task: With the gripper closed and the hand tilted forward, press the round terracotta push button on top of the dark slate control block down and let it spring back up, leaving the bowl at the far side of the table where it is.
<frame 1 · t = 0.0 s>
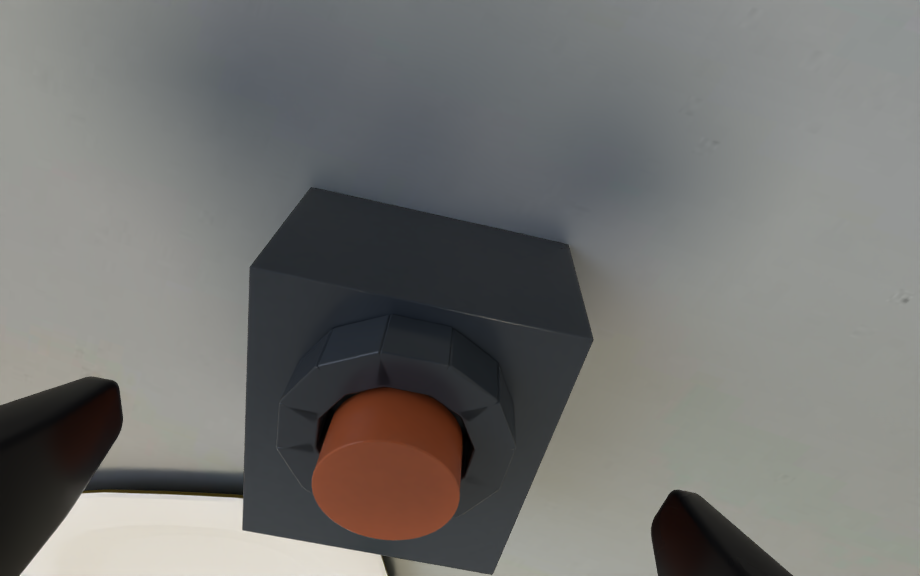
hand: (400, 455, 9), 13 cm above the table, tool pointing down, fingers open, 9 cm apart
control block: (414, 340, 24), on the table
button: (391, 464, 16), point 9 cm above the table, slide at 0.1 cm
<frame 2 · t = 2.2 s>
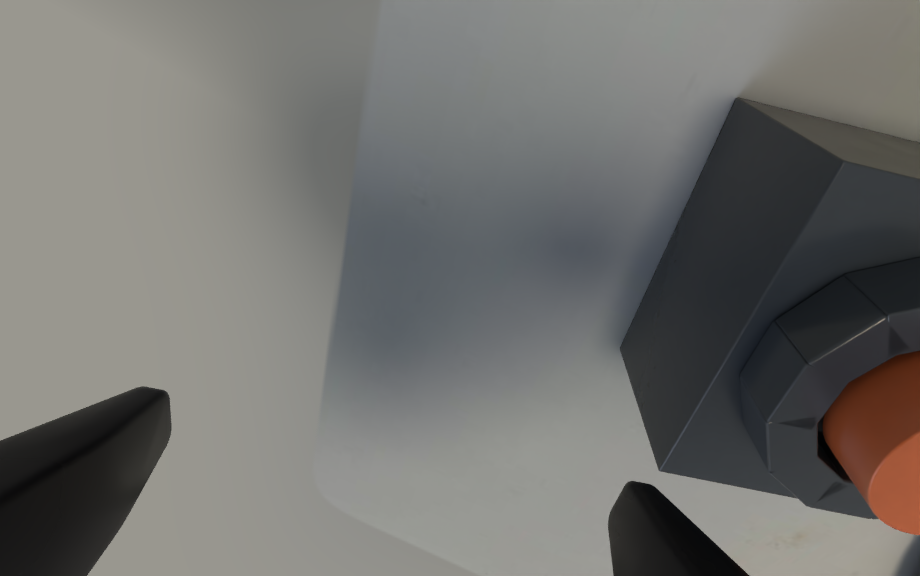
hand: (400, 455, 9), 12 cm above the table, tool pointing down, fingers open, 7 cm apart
control block: (827, 274, 20), on the table
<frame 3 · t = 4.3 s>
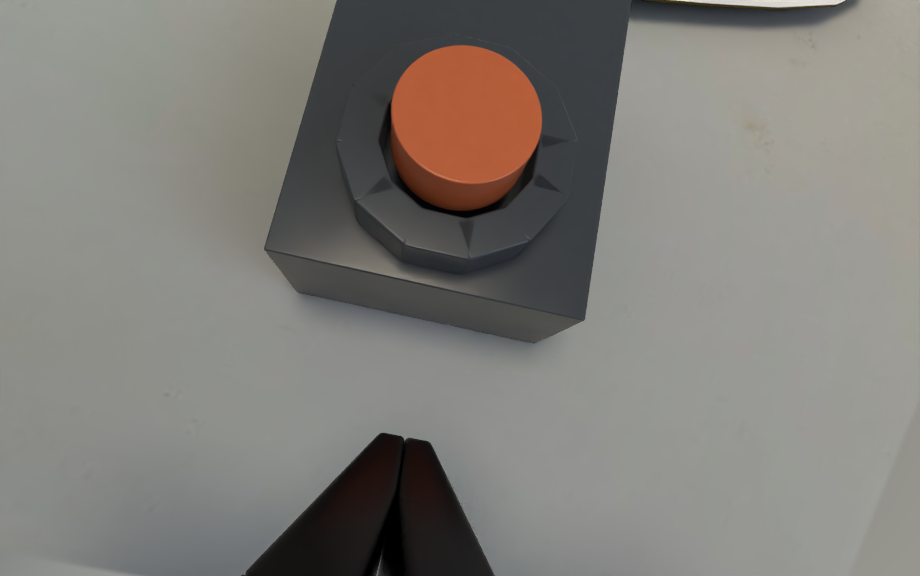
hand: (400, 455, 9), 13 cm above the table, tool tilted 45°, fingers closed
control block: (446, 185, 24), on the table
button: (463, 131, 16), point 9 cm above the table, slide at 0.1 cm
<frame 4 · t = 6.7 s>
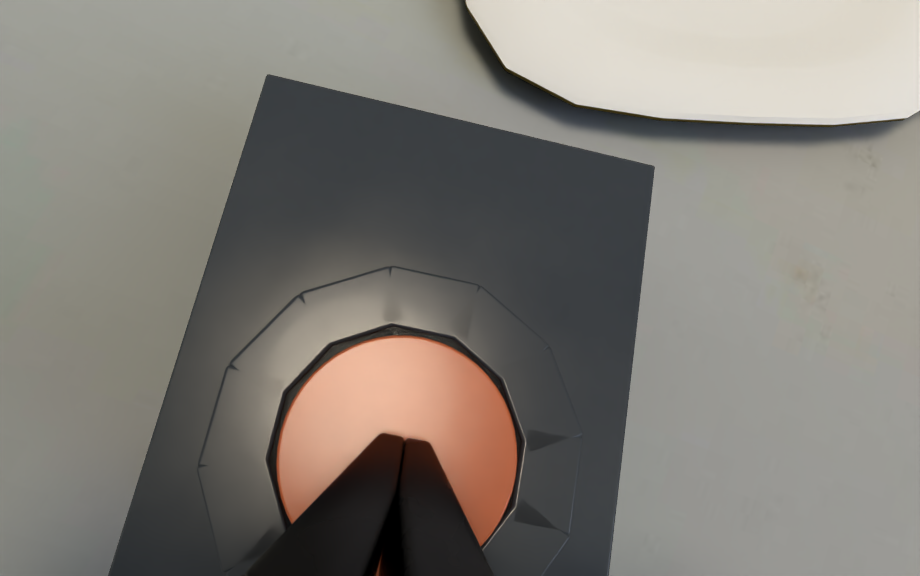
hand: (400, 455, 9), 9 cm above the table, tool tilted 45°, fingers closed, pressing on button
control block: (408, 376, 19), on the table
button: (399, 450, 10), point 8 cm above the table, slide at -0.5 cm, touching gripper
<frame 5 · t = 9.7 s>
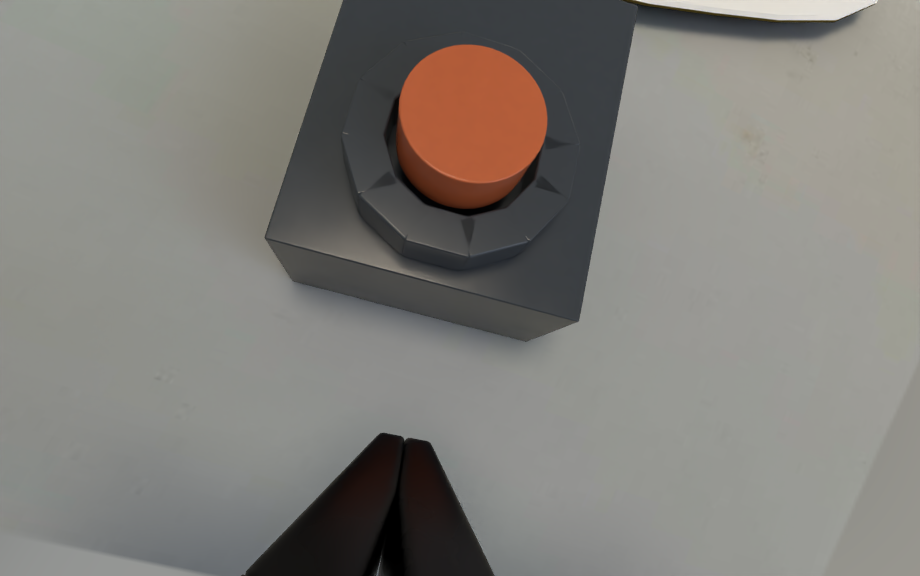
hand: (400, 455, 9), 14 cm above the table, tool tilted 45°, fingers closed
control block: (445, 181, 25), on the table
button: (468, 129, 16), point 9 cm above the table, slide at 0.1 cm
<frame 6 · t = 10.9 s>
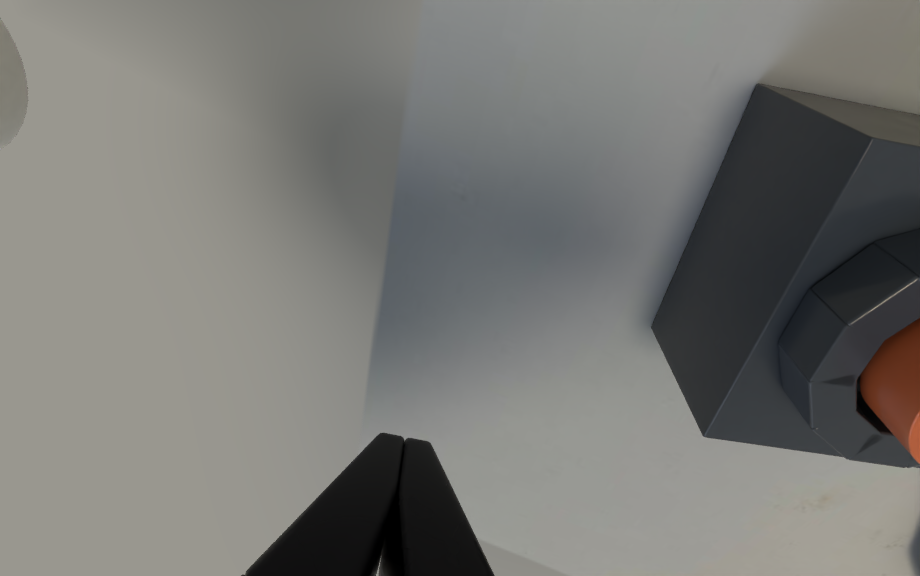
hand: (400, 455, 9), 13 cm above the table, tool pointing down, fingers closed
control block: (846, 246, 22), on the table
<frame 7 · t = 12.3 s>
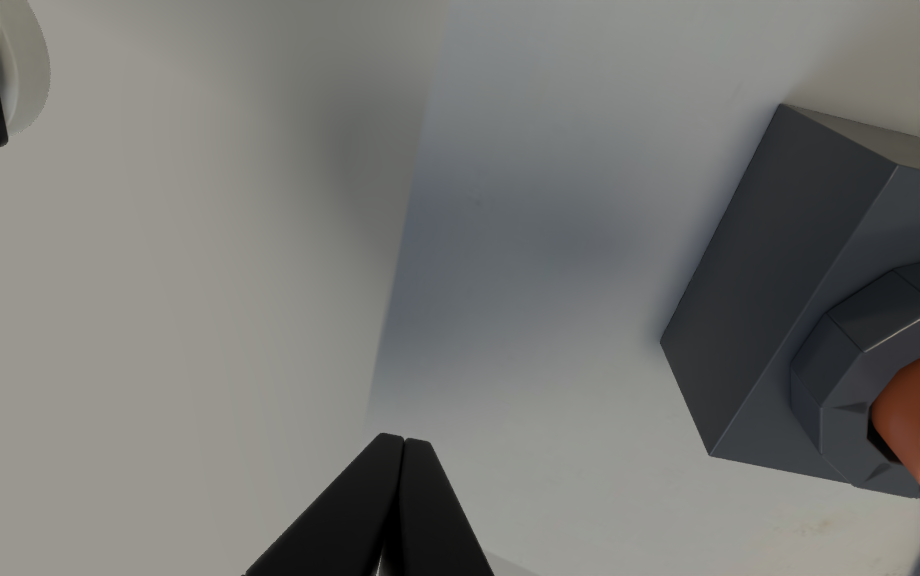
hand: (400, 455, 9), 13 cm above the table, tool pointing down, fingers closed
control block: (861, 270, 21), on the table
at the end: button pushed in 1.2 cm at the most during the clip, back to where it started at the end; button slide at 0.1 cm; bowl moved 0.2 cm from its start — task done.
